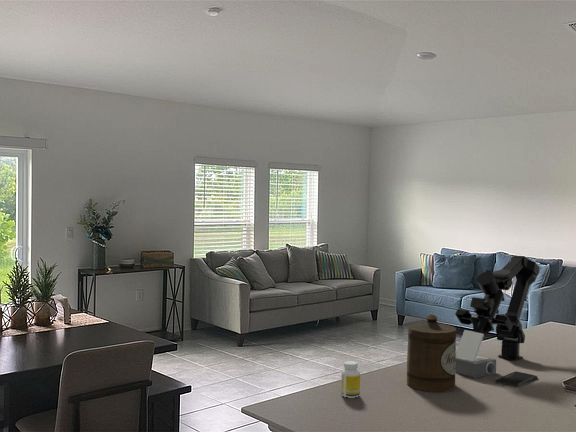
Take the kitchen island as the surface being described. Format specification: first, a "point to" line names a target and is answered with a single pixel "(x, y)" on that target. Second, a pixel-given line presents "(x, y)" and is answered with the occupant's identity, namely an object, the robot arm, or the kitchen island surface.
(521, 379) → the phone
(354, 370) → the supplement bottle
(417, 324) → the wooden container
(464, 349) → the side door
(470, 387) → the kitchen island surface
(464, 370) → the camera case
